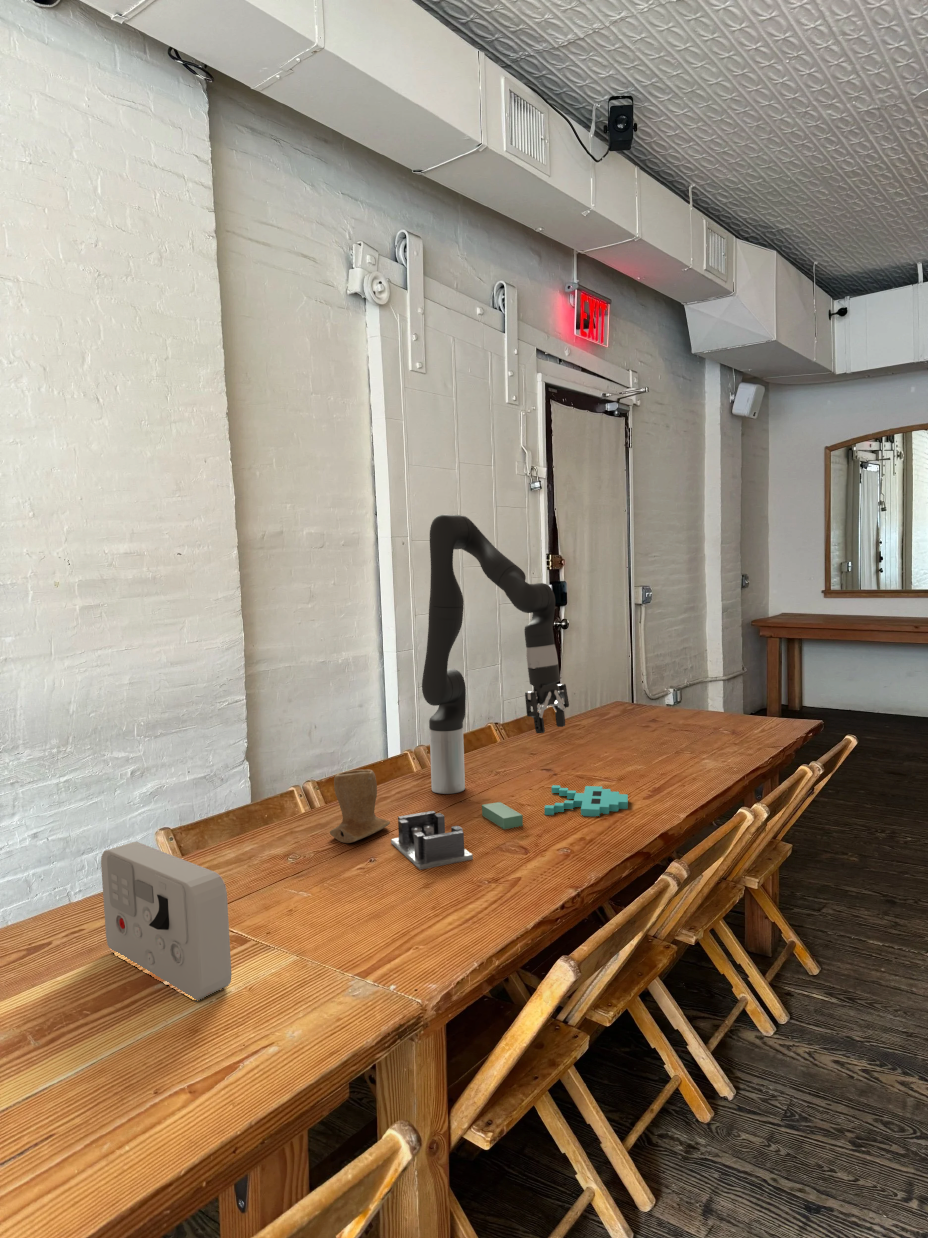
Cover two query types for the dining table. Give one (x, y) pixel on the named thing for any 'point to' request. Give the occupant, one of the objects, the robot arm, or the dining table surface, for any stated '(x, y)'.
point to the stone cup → (357, 805)
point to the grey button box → (167, 917)
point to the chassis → (430, 840)
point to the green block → (502, 815)
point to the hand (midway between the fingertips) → (550, 729)
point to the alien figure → (589, 801)
